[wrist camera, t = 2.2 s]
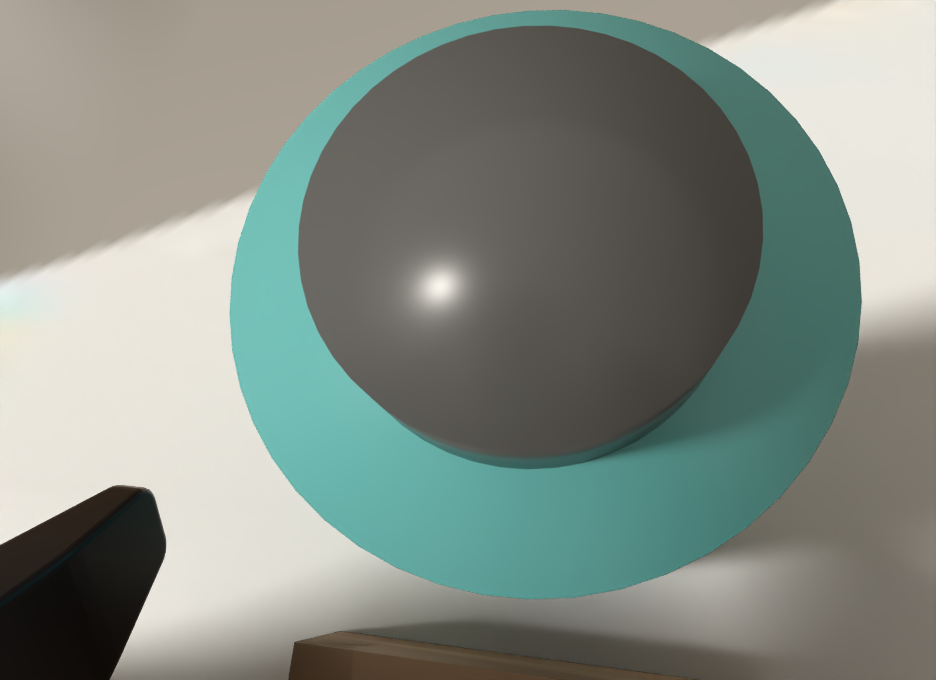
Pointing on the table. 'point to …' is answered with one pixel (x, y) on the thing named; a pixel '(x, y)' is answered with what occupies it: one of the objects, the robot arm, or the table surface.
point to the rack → (432, 662)
